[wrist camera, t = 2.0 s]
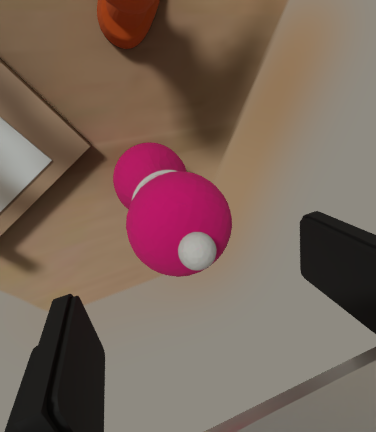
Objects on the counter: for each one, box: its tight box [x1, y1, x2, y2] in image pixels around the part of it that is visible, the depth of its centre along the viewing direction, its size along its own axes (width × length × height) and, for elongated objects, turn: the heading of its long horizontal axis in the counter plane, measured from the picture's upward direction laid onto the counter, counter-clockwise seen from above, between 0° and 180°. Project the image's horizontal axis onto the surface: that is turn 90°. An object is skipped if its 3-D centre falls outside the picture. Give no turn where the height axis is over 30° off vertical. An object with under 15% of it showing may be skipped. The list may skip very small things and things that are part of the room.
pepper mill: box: [113, 143, 232, 277], centre depth 20 cm, size 7×7×20 cm
